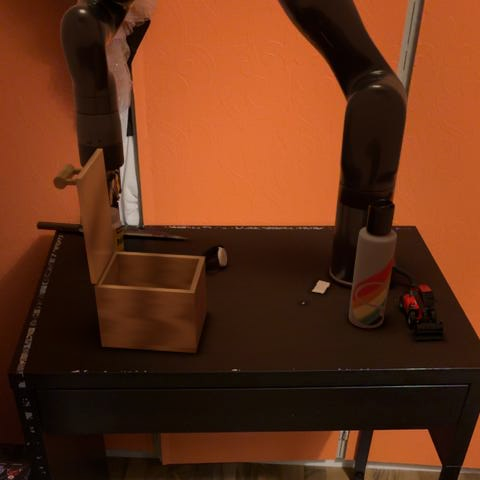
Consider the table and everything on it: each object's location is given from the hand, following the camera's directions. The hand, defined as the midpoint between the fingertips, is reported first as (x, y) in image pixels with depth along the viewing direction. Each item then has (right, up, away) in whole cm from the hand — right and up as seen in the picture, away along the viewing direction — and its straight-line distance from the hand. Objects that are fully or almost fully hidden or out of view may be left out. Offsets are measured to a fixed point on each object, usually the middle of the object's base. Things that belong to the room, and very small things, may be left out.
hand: (109, 229), depth 134 cm
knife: (+14, +1, +8) cm, 17 cm away
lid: (+4, -6, -28) cm, 29 cm away
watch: (+19, -7, +1) cm, 20 cm away
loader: (+53, -19, -14) cm, 58 cm away
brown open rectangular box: (+10, -20, -17) cm, 29 cm away
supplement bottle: (0, -4, +3) cm, 5 cm away
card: (+37, -13, -7) cm, 40 cm away
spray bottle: (+44, -19, -14) cm, 50 cm away
